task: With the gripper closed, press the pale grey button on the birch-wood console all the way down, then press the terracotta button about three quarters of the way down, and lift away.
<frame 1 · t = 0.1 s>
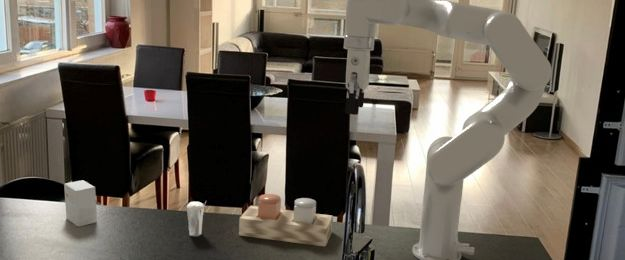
hand: (354, 110, 157), 37 cm above the kitchen counter, tool pointing down, fingers open, 9 cm apart
terracotta button: (269, 207, 169), point 7 cm above the kitchen counter, slide at 0.0 cm
milkshake: (196, 235, 167), on the kitchen counter
console: (286, 233, 170), on the kitchen counter
small box: (81, 221, 172), on the kitchen counter
grey button: (304, 211, 167), point 7 cm above the kitchen counter, slide at 0.0 cm
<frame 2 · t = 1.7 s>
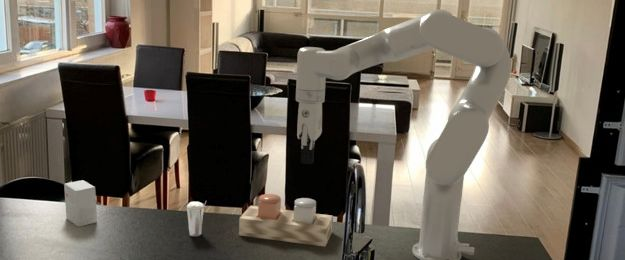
hand: (307, 162, 164), 21 cm above the kitchen counter, tool pointing down, fingers closed
nothing on the kitchen counter moved.
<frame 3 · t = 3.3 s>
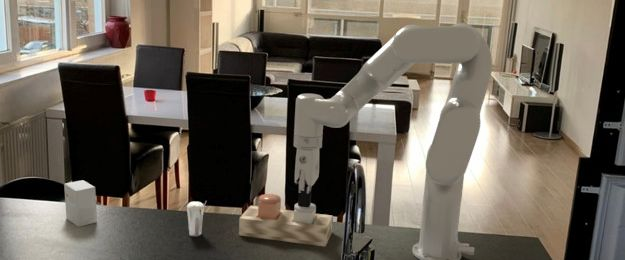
hand: (304, 205, 167), 9 cm above the kitchen counter, tool pointing down, fingers closed
grey button: (304, 215, 168), point 6 cm above the kitchen counter, slide at 1.2 cm, touching gripper
everything else where it was.
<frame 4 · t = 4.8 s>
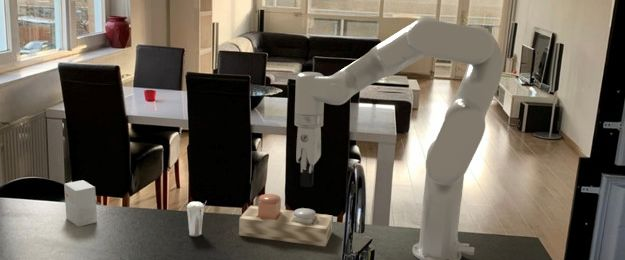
hand: (306, 185, 165), 15 cm above the kitchen counter, tool pointing down, fingers closed
grey button: (304, 222, 168), point 4 cm above the kitchen counter, slide at 3.0 cm
everything else where it was.
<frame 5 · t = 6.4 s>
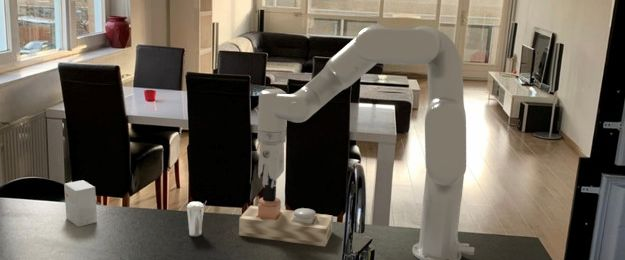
hand: (269, 200, 169), 9 cm above the kitchen counter, tool pointing down, fingers closed
terracotta button: (269, 210, 169), point 6 cm above the kitchen counter, slide at 0.8 cm, touching gripper
everything else where it was.
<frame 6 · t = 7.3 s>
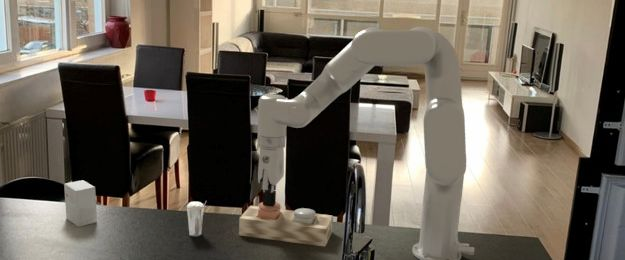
hand: (269, 204, 169), 8 cm above the kitchen counter, tool pointing down, fingers closed
terracotta button: (269, 214, 170), point 5 cm above the kitchen counter, slide at 2.2 cm, touching gripper
everything else where it was.
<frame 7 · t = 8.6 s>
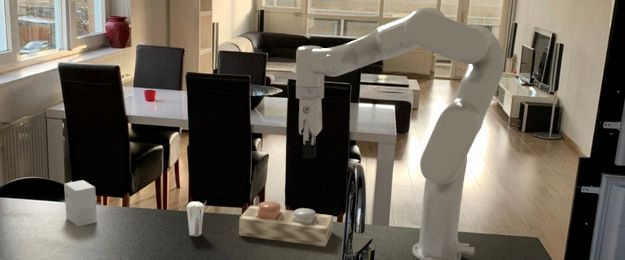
hand: (309, 157, 170), 21 cm above the kitchen counter, tool pointing down, fingers closed
terracotta button: (269, 214, 170), point 5 cm above the kitchen counter, slide at 2.2 cm
everything else where it was.
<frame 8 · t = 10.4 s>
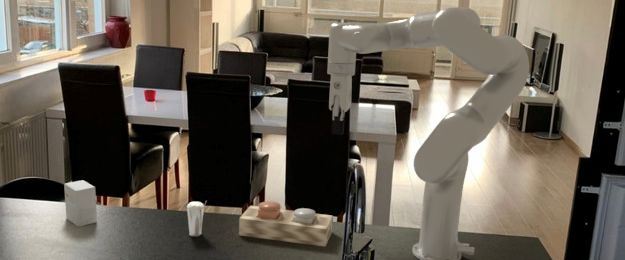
hand: (337, 133, 172), 27 cm above the kitchen counter, tool pointing down, fingers closed
nothing on the kitchen counter moved.
at the end: grey button slide at 3.0 cm; terracotta button slide at 2.2 cm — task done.
